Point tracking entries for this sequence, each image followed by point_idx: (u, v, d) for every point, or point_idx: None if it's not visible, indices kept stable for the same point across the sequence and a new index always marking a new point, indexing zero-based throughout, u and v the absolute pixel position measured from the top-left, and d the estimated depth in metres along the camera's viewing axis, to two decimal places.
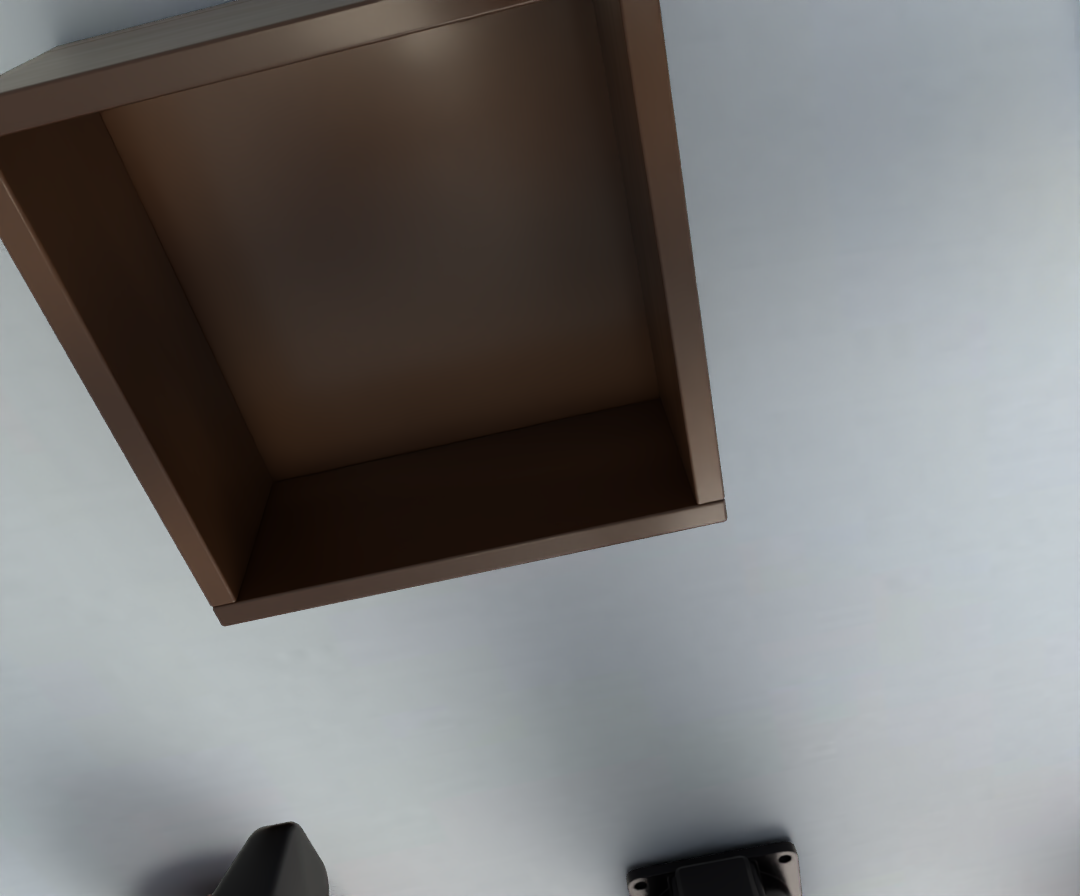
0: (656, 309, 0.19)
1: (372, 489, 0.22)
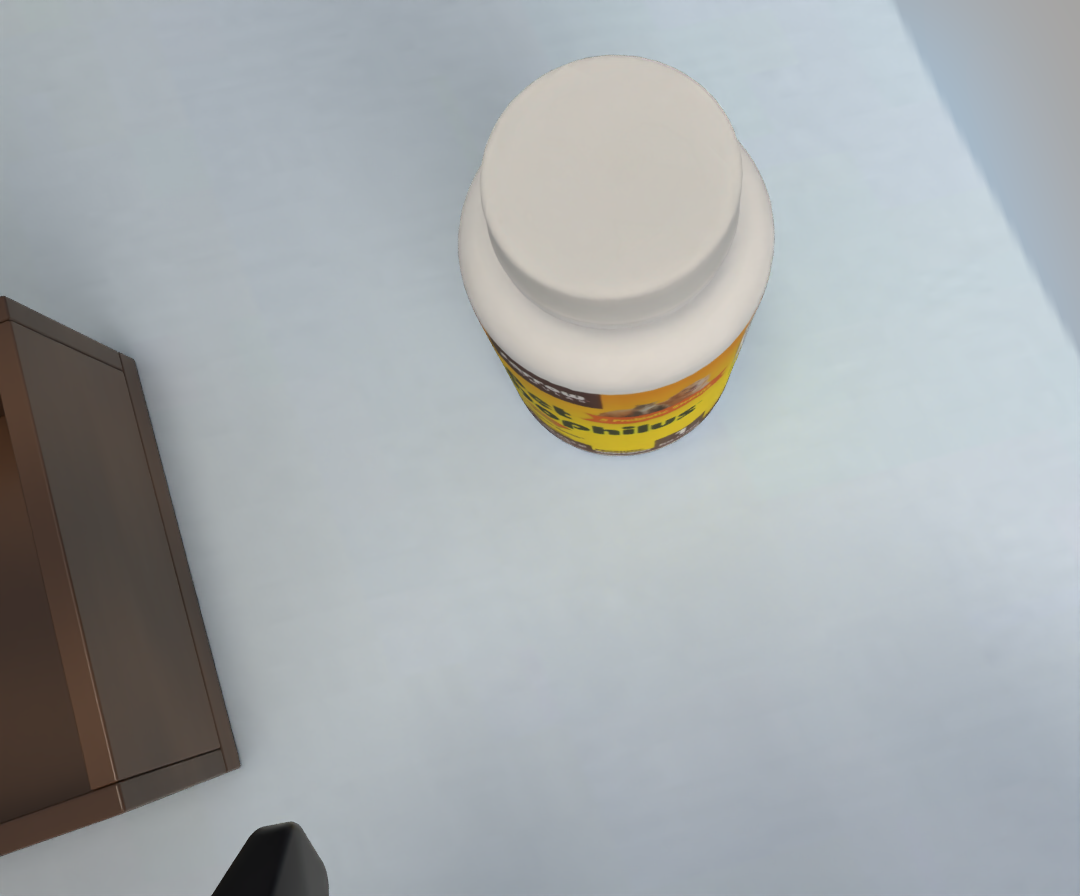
0: None
1: None
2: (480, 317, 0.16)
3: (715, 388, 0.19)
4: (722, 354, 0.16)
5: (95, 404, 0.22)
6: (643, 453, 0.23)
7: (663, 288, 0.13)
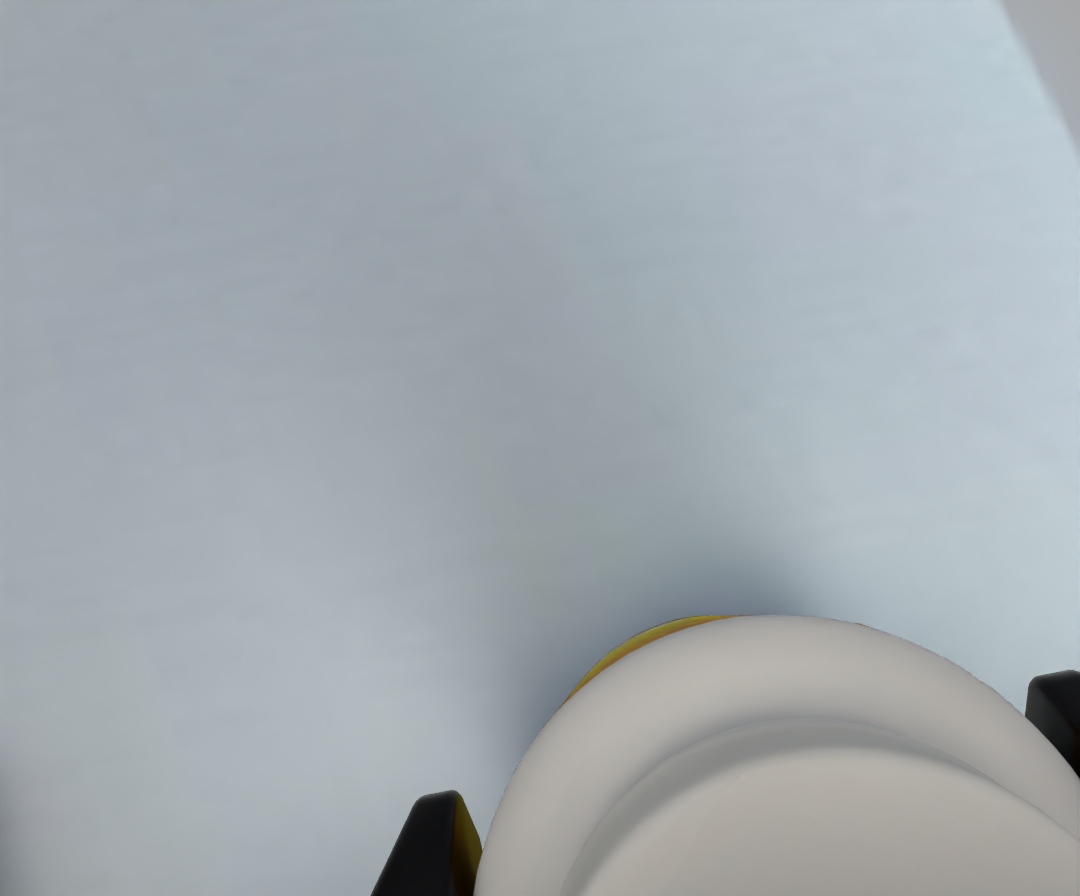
0: None
1: None
2: None
3: None
4: None
5: None
6: None
7: None
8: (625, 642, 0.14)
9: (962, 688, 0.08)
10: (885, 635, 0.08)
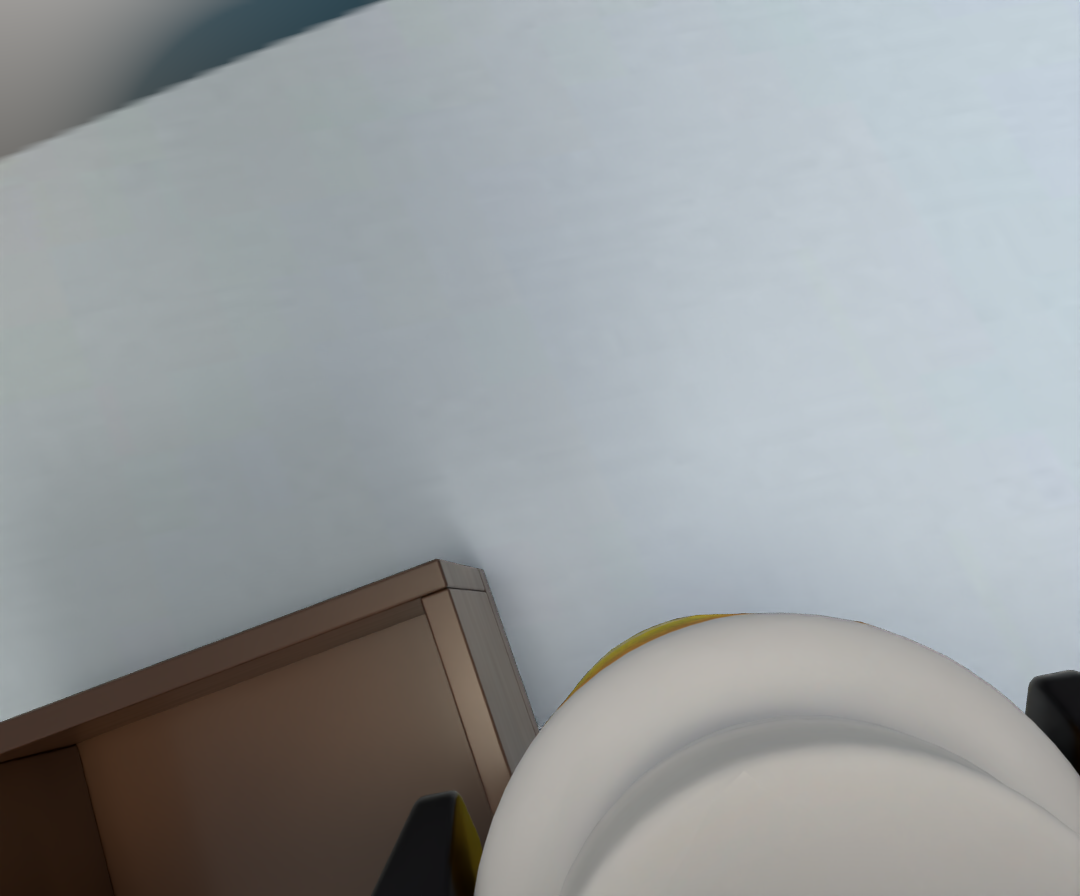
0: None
1: None
2: None
3: None
4: None
5: (493, 650, 0.20)
6: None
7: None
8: (626, 641, 0.14)
9: (963, 686, 0.08)
10: (886, 633, 0.08)
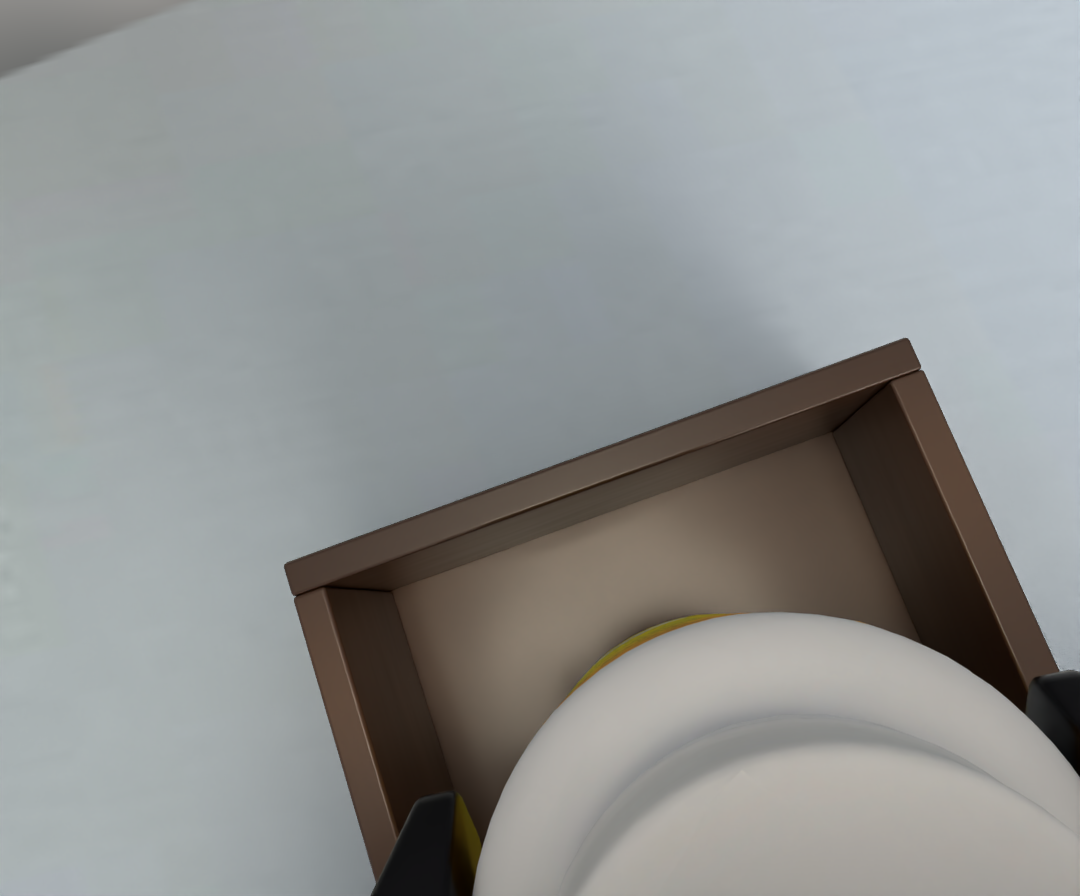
0: None
1: None
2: None
3: None
4: None
5: None
6: None
7: None
8: (625, 641, 0.14)
9: (961, 685, 0.08)
10: (884, 632, 0.08)
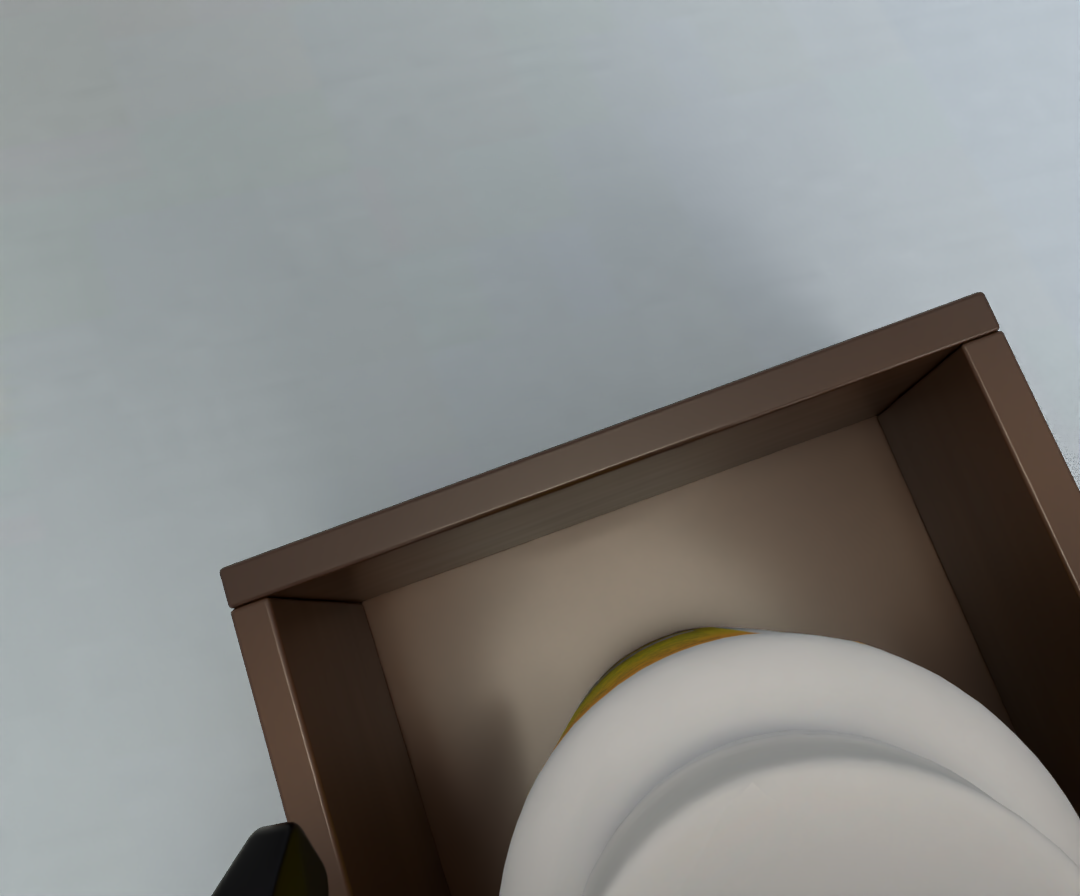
0: None
1: None
2: None
3: None
4: None
5: None
6: None
7: None
8: (634, 652, 0.15)
9: (951, 702, 0.08)
10: (881, 653, 0.09)
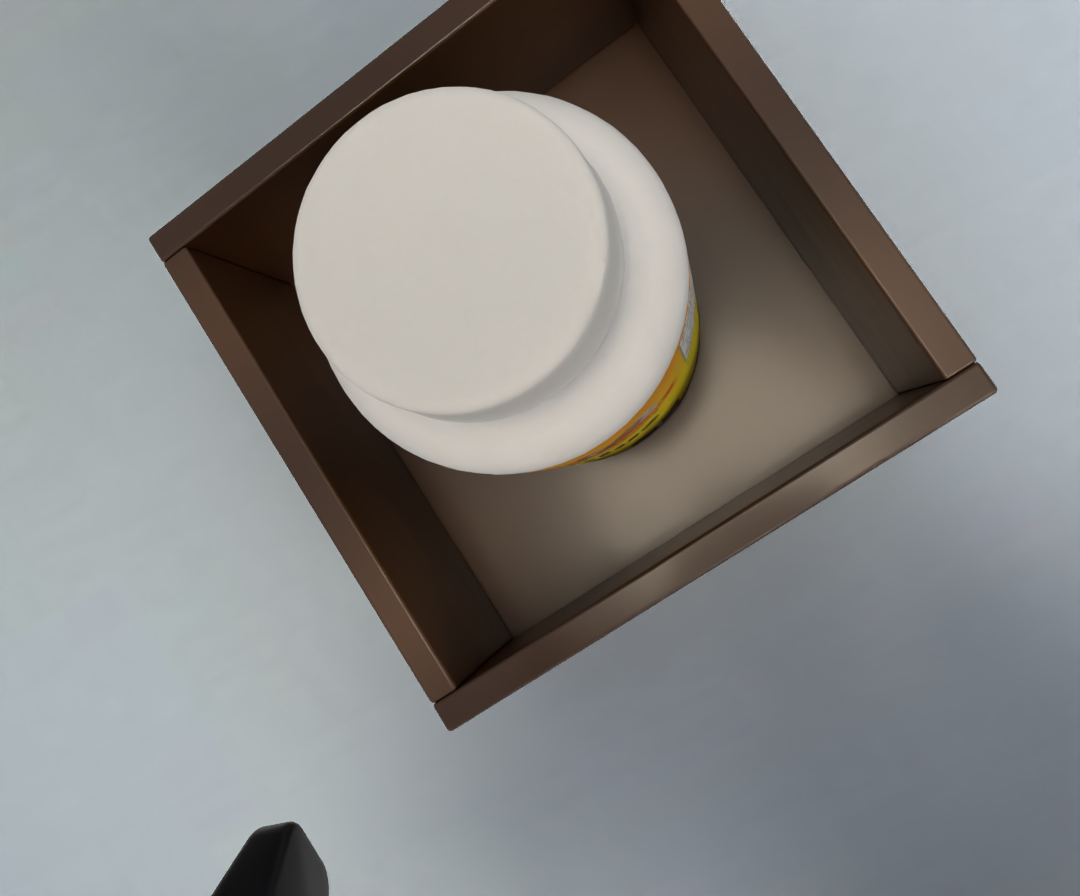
0: (808, 225, 0.17)
1: (603, 584, 0.20)
2: (367, 419, 0.14)
3: (675, 389, 0.17)
4: (656, 389, 0.13)
5: None
6: (625, 450, 0.20)
7: (542, 380, 0.11)
8: None
9: (544, 101, 0.13)
10: None
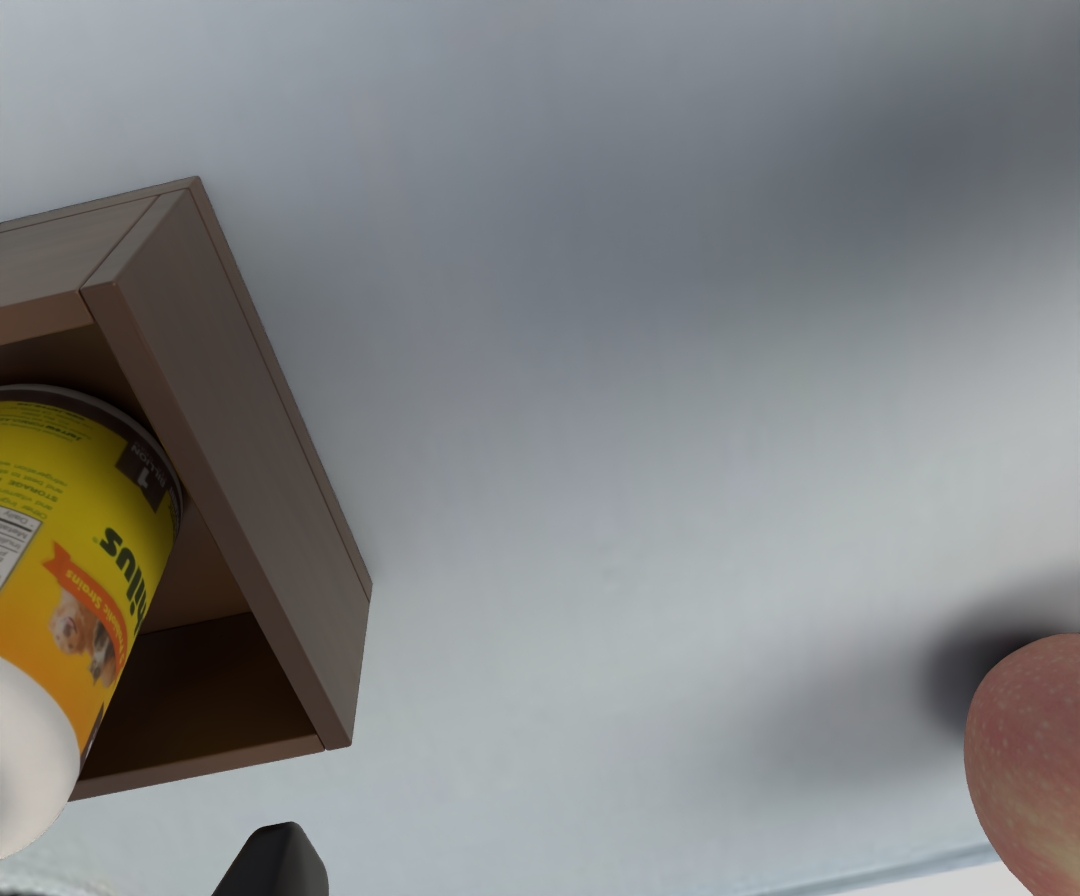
0: None
1: None
2: None
3: (77, 519, 0.17)
4: (16, 655, 0.14)
5: None
6: (177, 482, 0.21)
7: None
8: None
9: None
10: None
